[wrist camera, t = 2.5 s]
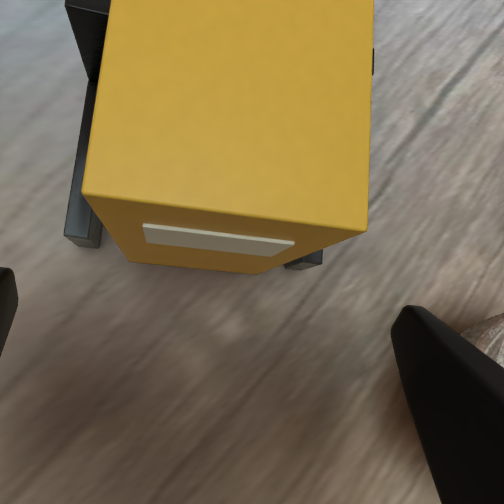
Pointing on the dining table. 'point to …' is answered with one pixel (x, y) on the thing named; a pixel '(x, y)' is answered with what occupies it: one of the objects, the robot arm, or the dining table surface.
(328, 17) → the storage box
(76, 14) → the rack
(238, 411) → the dining table surface
